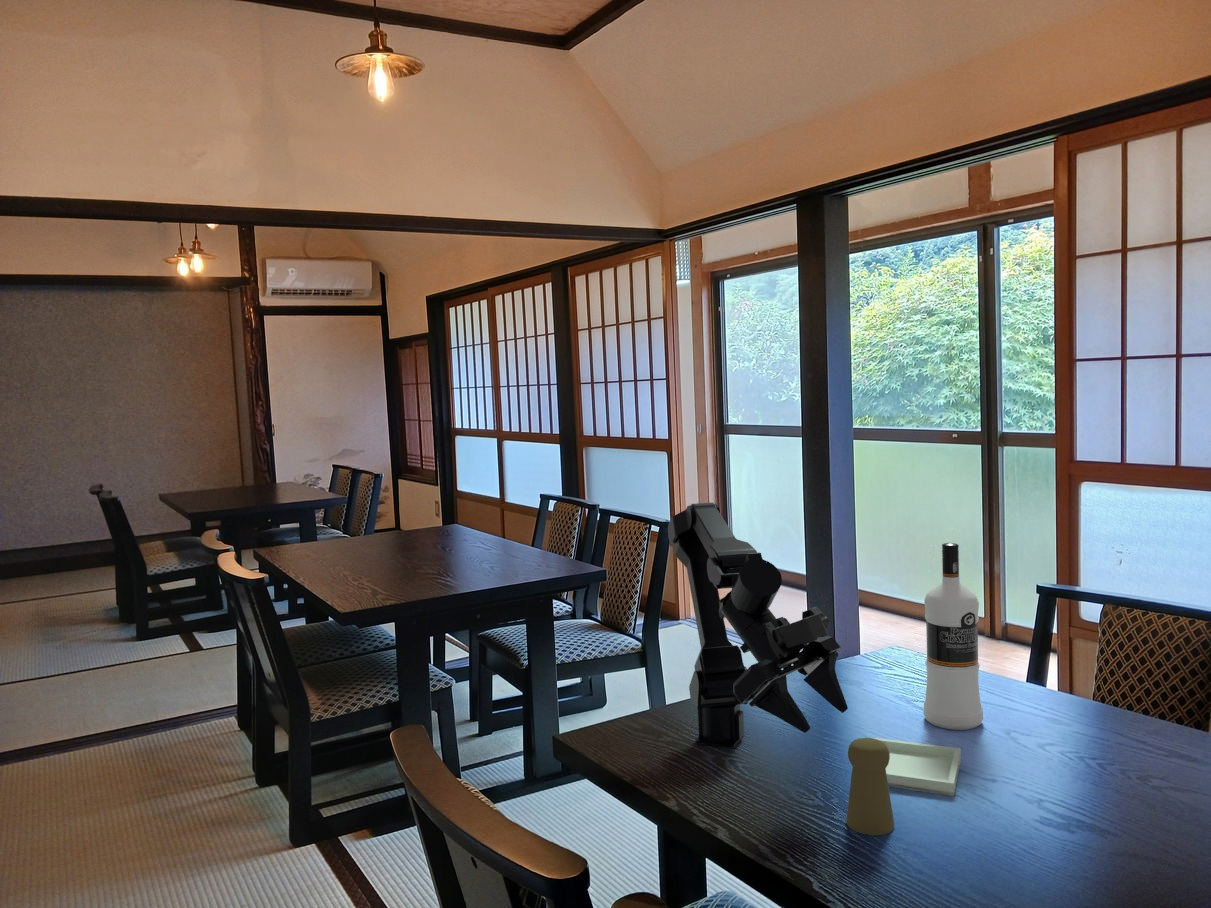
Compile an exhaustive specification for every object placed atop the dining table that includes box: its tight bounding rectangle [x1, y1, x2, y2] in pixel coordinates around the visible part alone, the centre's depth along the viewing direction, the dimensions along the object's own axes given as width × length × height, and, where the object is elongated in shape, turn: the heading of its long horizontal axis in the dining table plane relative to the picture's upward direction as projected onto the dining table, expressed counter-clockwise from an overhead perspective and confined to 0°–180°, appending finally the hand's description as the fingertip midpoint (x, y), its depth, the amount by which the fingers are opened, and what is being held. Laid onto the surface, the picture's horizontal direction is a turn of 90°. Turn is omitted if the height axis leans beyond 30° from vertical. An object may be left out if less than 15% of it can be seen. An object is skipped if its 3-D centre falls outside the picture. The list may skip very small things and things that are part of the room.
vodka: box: [923, 542, 984, 731], centre depth 148 cm, size 9×9×30 cm
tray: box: [873, 737, 962, 797], centre depth 131 cm, size 13×13×2 cm
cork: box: [845, 737, 895, 836], centre depth 116 cm, size 6×6×11 cm
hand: (827, 720), depth 120 cm, fingers open, 9 cm apart
